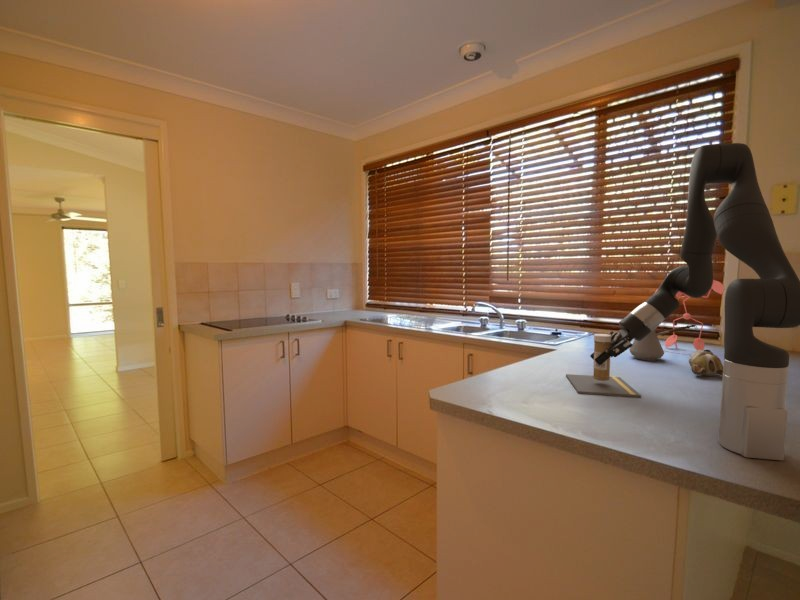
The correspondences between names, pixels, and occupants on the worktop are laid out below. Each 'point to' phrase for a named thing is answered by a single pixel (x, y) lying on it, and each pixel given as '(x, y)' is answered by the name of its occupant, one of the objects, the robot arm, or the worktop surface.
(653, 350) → the coffee pot
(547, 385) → the worktop surface
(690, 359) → the ceramic sculpture
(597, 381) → the line mat
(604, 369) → the sprinkles bottle
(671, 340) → the pink flower figure
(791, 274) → the robot arm
